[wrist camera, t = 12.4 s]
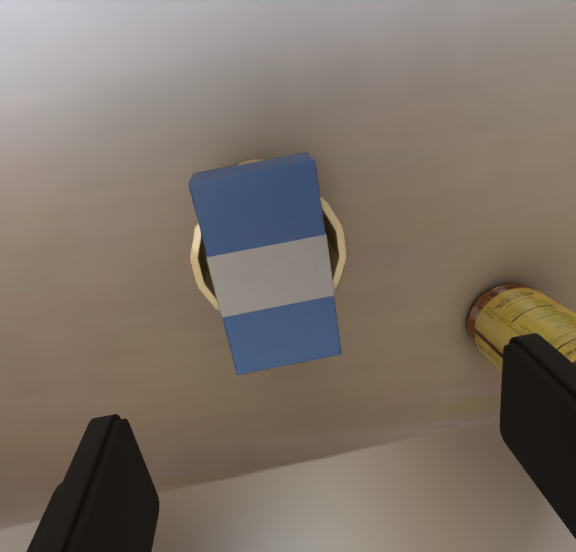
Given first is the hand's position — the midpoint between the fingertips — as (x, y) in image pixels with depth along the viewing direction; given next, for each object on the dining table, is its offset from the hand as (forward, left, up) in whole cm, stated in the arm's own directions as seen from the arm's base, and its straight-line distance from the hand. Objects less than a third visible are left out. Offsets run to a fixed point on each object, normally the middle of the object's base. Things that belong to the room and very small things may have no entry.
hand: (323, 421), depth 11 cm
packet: (0, -1, -13) cm, 13 cm away
